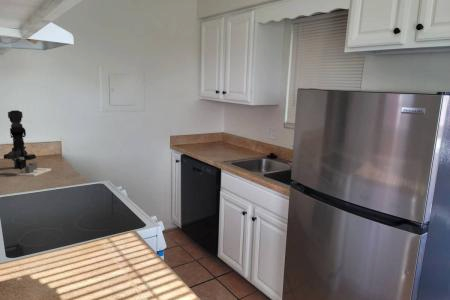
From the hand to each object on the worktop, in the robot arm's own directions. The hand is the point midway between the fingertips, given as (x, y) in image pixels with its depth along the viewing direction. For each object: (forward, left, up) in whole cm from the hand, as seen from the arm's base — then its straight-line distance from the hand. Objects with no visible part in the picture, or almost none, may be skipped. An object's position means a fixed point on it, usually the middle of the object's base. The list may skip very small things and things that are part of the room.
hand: (21, 169), depth 213 cm
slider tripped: (+6, 0, -1) cm, 6 cm away
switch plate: (+6, +4, -3) cm, 8 cm away
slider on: (+2, +8, -1) cm, 9 cm away
